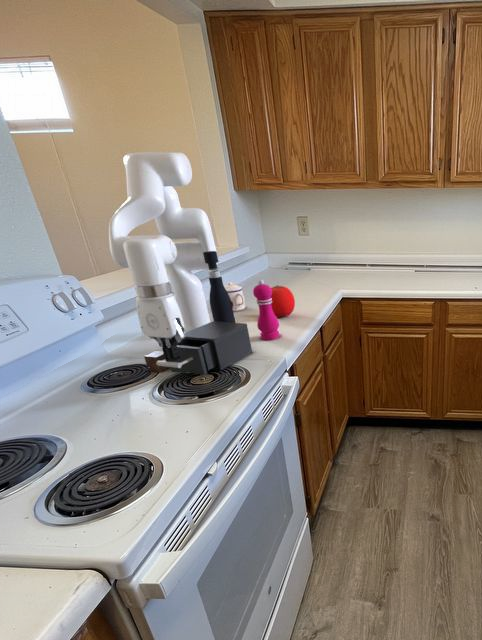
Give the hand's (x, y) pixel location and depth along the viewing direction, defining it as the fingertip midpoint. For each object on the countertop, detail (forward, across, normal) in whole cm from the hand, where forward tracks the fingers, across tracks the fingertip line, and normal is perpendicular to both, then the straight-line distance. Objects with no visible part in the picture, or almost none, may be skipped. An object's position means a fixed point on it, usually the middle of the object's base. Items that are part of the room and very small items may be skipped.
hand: (173, 359), depth 110 cm
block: (+6, -13, +6) cm, 16 cm away
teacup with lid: (+6, -34, +68) cm, 77 cm away
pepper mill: (+6, +3, +38) cm, 39 cm away
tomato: (+6, -8, +62) cm, 63 cm away
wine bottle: (+6, -7, +30) cm, 31 cm away
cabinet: (+6, 0, +16) cm, 18 cm away
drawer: (+5, 0, +7) cm, 9 cm away
